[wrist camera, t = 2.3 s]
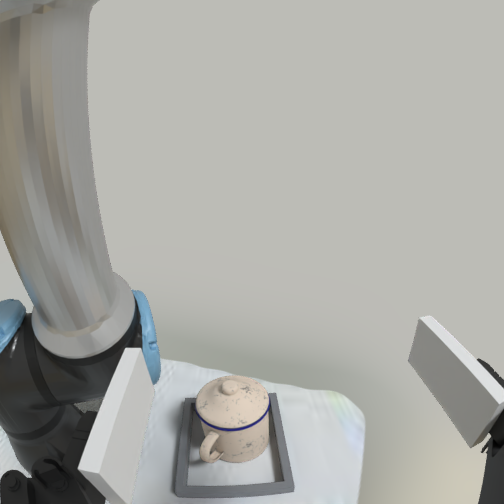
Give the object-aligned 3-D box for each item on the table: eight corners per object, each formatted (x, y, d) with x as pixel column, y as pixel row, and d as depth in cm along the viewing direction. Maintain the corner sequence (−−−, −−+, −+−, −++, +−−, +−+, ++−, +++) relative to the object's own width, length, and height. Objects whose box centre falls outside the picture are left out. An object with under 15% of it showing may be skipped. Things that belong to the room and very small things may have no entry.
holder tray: (178, 497, 26) (174, 491, 26) (187, 405, 42) (185, 398, 42) (293, 491, 27) (294, 486, 26) (276, 400, 43) (275, 392, 42)
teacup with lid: (226, 409, 42) (217, 352, 38) (281, 427, 38) (282, 371, 34) (181, 462, 32) (158, 410, 28) (241, 490, 28) (232, 444, 24)
